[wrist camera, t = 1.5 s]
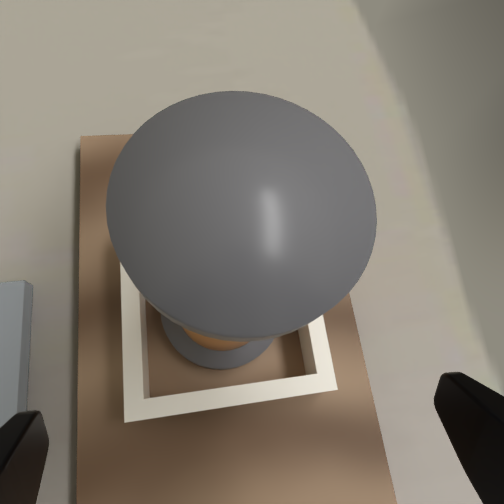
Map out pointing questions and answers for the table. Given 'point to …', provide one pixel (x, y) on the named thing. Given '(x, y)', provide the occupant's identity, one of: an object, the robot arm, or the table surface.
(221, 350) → the orange cylinder grey ends
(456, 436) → the robot arm
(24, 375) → the grey mat
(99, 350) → the walnut board
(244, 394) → the white square frame
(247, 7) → the table surface
